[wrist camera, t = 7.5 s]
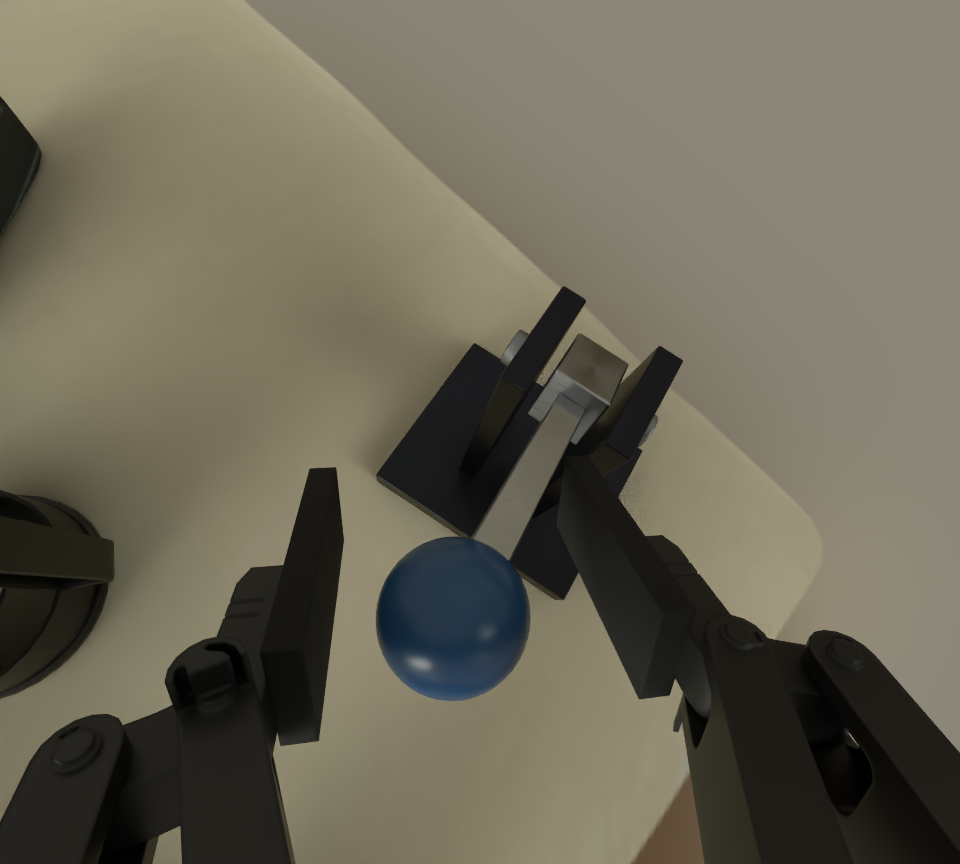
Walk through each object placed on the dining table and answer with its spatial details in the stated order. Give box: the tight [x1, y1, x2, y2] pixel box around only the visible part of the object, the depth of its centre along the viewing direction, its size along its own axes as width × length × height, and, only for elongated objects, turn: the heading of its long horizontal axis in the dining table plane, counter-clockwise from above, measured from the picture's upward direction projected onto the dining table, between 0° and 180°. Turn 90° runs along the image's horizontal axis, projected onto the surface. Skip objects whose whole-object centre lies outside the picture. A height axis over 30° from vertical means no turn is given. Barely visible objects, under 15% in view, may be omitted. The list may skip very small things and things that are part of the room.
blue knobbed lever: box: [376, 334, 628, 701], centre depth 15 cm, size 13×4×4 cm, turn 148°
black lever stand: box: [376, 287, 683, 600], centre depth 24 cm, size 10×12×14 cm
